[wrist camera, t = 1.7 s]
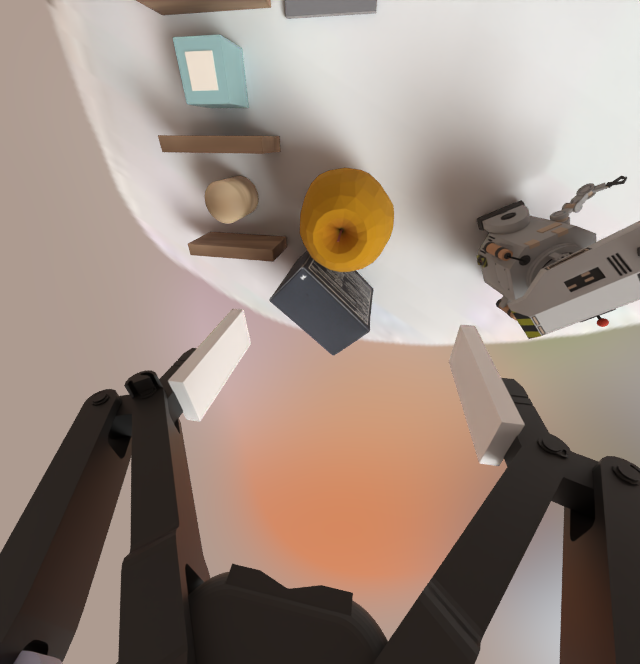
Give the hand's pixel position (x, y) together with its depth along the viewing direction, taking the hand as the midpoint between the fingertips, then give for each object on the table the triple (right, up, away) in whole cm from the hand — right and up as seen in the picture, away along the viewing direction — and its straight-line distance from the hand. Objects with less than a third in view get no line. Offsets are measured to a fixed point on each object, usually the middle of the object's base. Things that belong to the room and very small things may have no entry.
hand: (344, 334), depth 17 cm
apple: (+2, +15, +16) cm, 22 cm away
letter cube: (-11, +26, +11) cm, 31 cm away
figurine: (+22, +11, +14) cm, 28 cm away
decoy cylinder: (-11, +17, +18) cm, 27 cm away
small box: (0, +8, +22) cm, 23 cm away
